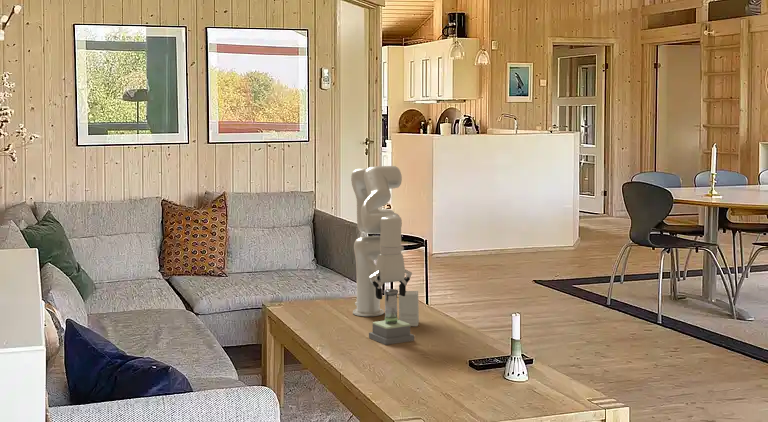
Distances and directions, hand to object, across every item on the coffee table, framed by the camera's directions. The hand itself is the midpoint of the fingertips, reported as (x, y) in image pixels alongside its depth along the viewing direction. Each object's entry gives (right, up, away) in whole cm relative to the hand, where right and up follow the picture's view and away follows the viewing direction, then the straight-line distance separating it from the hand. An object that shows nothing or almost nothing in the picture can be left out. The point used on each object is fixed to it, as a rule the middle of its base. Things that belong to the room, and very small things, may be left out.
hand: (390, 297), depth 353 cm
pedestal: (0, -15, +1) cm, 15 cm away
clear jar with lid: (0, -9, 0) cm, 9 cm away
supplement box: (+7, -13, +25) cm, 29 cm away
